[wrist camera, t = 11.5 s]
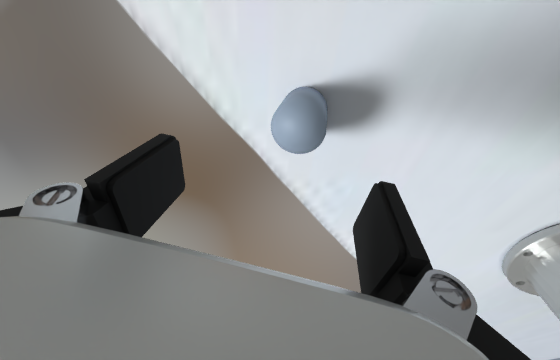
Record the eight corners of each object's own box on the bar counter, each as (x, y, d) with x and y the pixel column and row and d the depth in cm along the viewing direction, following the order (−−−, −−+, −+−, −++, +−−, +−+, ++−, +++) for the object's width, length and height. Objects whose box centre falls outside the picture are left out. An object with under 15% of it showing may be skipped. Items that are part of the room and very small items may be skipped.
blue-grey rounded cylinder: (332, 91, 20) (333, 106, 16) (320, 136, 22) (318, 158, 18) (286, 82, 20) (274, 94, 16) (279, 127, 22) (267, 147, 18)
